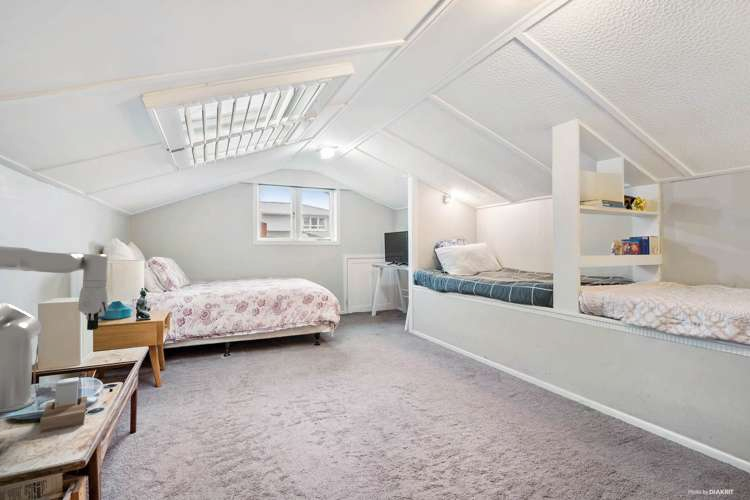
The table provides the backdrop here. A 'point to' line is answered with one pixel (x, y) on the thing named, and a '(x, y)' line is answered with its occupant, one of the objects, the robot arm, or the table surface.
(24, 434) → the table surface
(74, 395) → the skincare box
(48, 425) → the walnut stand
